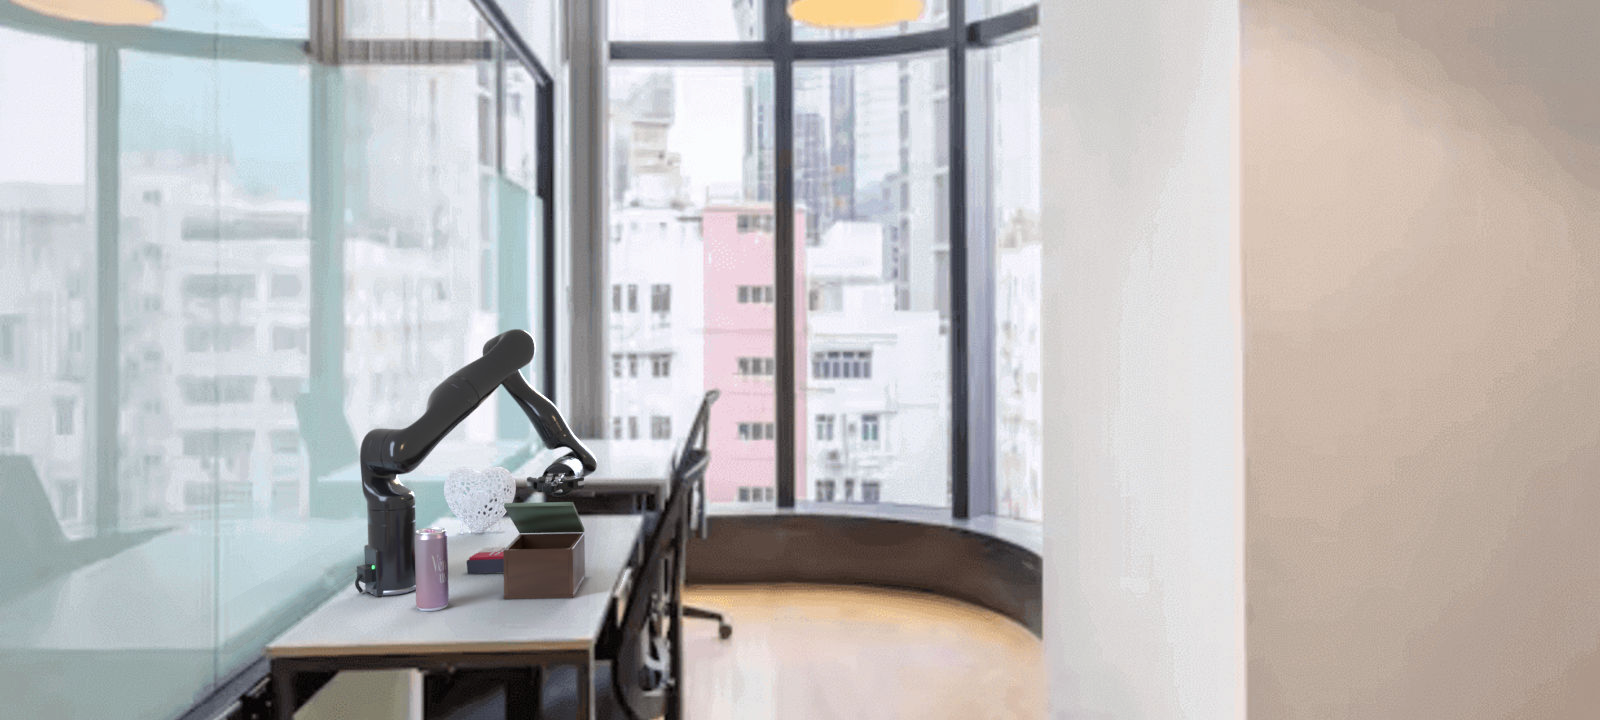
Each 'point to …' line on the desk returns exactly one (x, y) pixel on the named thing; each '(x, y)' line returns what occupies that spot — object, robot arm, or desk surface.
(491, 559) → the calculator
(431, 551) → the beverage can
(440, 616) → the desk surface
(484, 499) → the decorative heart
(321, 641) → the desk surface
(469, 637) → the desk surface
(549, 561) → the chest
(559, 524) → the lid
